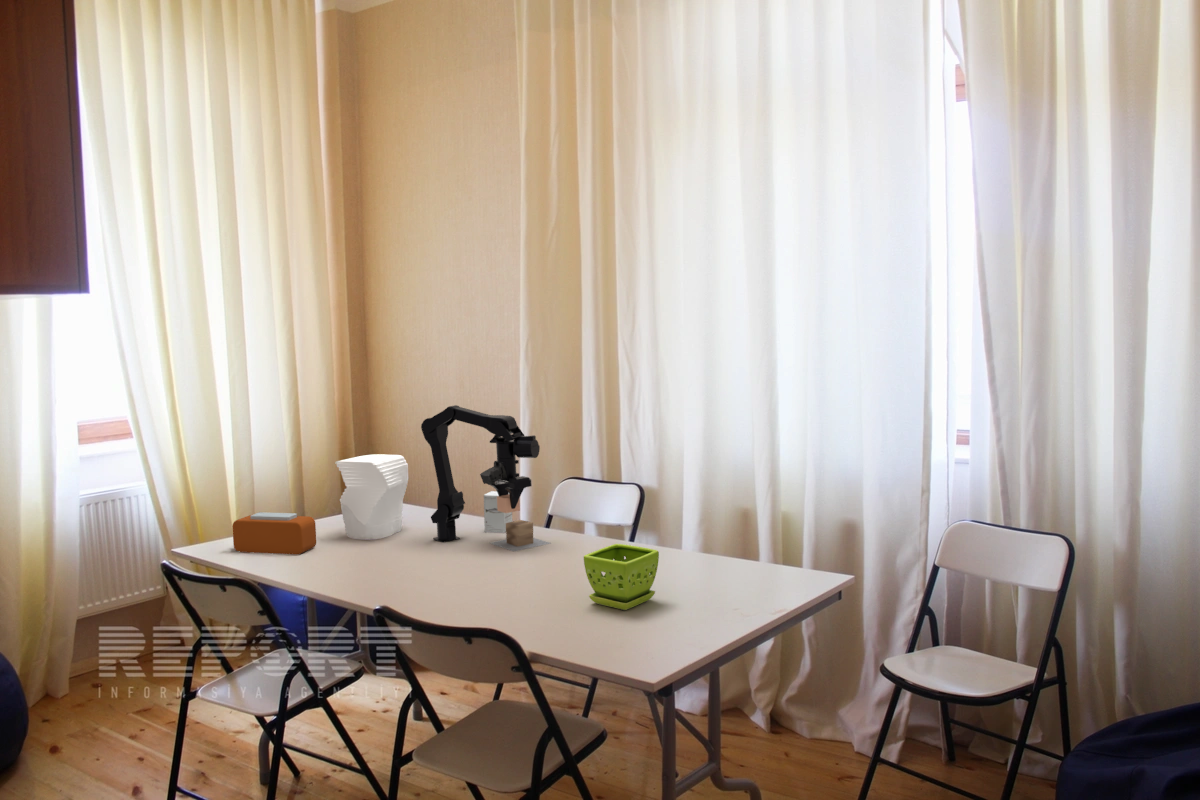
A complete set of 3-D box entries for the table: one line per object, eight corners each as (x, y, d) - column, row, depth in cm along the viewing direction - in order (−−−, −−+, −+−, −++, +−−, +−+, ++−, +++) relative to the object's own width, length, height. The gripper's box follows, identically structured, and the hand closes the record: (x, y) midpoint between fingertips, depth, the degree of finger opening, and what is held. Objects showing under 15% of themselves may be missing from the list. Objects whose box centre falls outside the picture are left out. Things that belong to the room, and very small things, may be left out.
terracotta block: (497, 510, 287) (496, 496, 287) (511, 508, 290) (510, 494, 290) (506, 513, 283) (505, 498, 283) (519, 510, 286) (519, 496, 286)
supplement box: (483, 532, 305) (482, 494, 304) (493, 527, 312) (491, 490, 311) (504, 533, 303) (503, 495, 302) (513, 528, 310) (512, 491, 309)
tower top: (505, 533, 289) (505, 523, 288) (520, 529, 293) (520, 519, 293) (518, 536, 284) (518, 526, 284) (533, 532, 289) (533, 522, 288)
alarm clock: (317, 548, 290) (315, 512, 289) (302, 555, 282) (300, 518, 281) (249, 545, 296) (247, 510, 295) (233, 552, 288) (231, 516, 287)
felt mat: (488, 543, 290) (488, 542, 290) (525, 536, 299) (525, 535, 299) (513, 552, 279) (513, 551, 279) (551, 544, 288) (551, 543, 288)
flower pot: (617, 590, 239) (616, 542, 238) (662, 600, 230) (661, 550, 229) (582, 604, 228) (581, 554, 227) (627, 615, 219) (626, 562, 218)
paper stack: (329, 538, 302) (325, 460, 299) (388, 521, 325) (385, 449, 322) (376, 546, 291) (372, 465, 288) (434, 527, 314) (431, 452, 311)
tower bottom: (506, 543, 289) (506, 532, 289) (522, 539, 293) (522, 529, 293) (517, 546, 285) (516, 536, 284) (533, 543, 289) (533, 533, 288)
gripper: (468, 457, 288) (470, 507, 289) (499, 463, 273) (502, 516, 274) (499, 453, 294) (501, 501, 296) (531, 459, 280) (533, 510, 281)
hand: (508, 507), depth 287 cm, fingers closed on terracotta block, 5 cm apart
